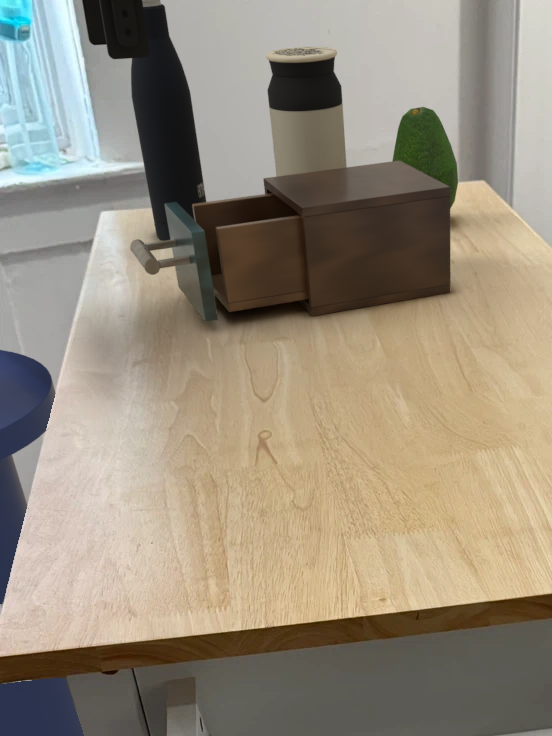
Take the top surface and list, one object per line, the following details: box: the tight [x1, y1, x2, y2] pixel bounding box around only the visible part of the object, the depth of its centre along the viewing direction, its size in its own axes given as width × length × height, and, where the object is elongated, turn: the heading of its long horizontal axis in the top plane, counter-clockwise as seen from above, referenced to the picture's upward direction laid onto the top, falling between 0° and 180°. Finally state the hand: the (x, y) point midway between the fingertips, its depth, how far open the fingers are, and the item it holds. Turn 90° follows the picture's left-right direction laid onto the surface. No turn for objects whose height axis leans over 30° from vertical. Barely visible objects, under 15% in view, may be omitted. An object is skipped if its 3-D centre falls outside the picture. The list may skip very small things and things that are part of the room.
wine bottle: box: [130, 0, 207, 241], centre depth 111 cm, size 6×6×30 cm
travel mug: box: [265, 46, 348, 177], centre depth 113 cm, size 8×8×18 cm
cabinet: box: [262, 160, 451, 317], centre depth 101 cm, size 15×13×10 cm
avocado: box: [392, 106, 459, 210], centre depth 117 cm, size 8×8×12 cm
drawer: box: [129, 193, 308, 323], centre depth 97 cm, size 18×11×8 cm, turn 112°
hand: (118, 50), depth 84 cm, fingers open, 9 cm apart
